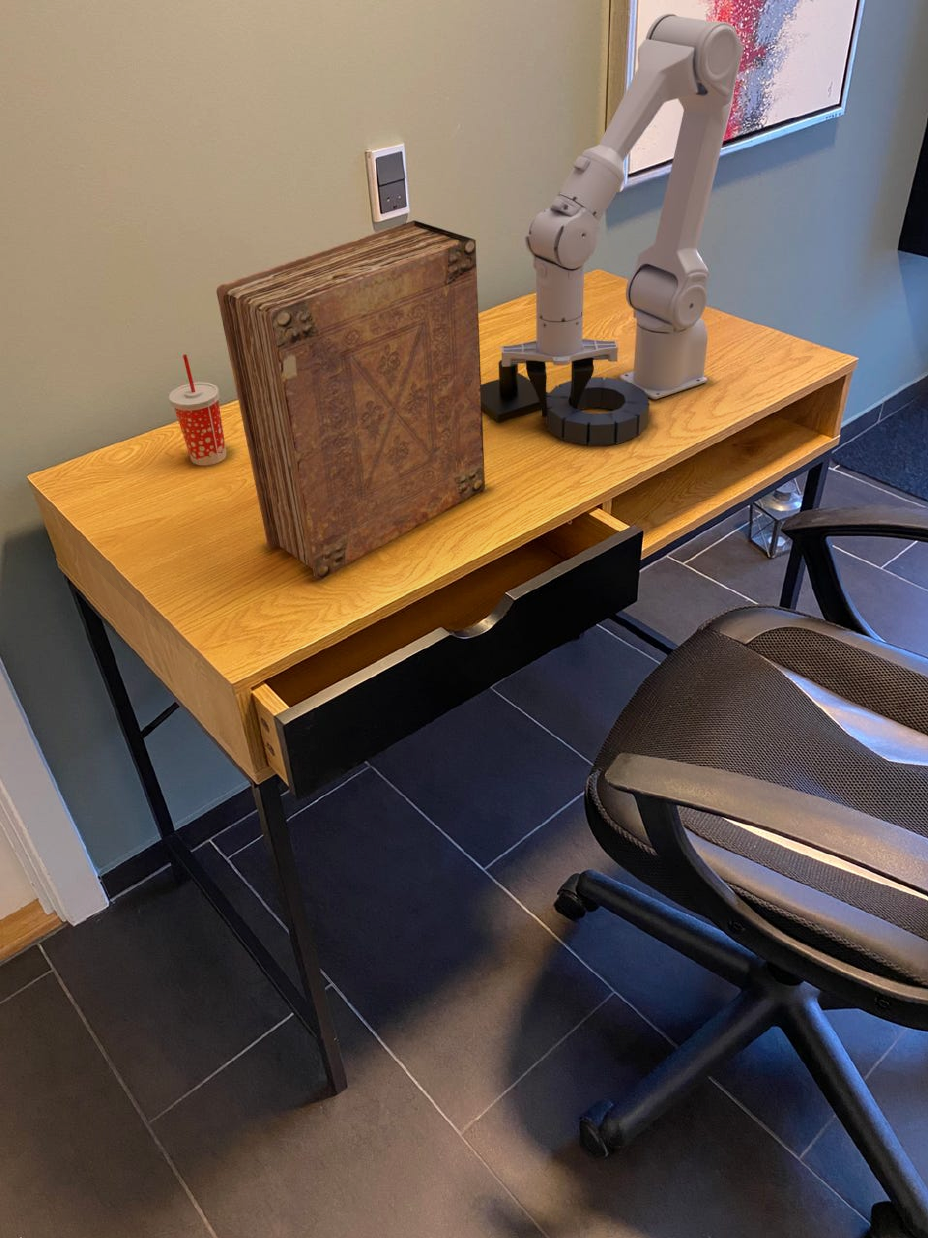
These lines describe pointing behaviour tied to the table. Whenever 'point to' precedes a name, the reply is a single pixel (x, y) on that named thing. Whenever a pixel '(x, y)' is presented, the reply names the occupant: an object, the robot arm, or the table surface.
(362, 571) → the table surface
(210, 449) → the beverage cup
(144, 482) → the table surface
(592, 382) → the hoop
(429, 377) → the book
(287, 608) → the table surface
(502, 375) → the peg stand
